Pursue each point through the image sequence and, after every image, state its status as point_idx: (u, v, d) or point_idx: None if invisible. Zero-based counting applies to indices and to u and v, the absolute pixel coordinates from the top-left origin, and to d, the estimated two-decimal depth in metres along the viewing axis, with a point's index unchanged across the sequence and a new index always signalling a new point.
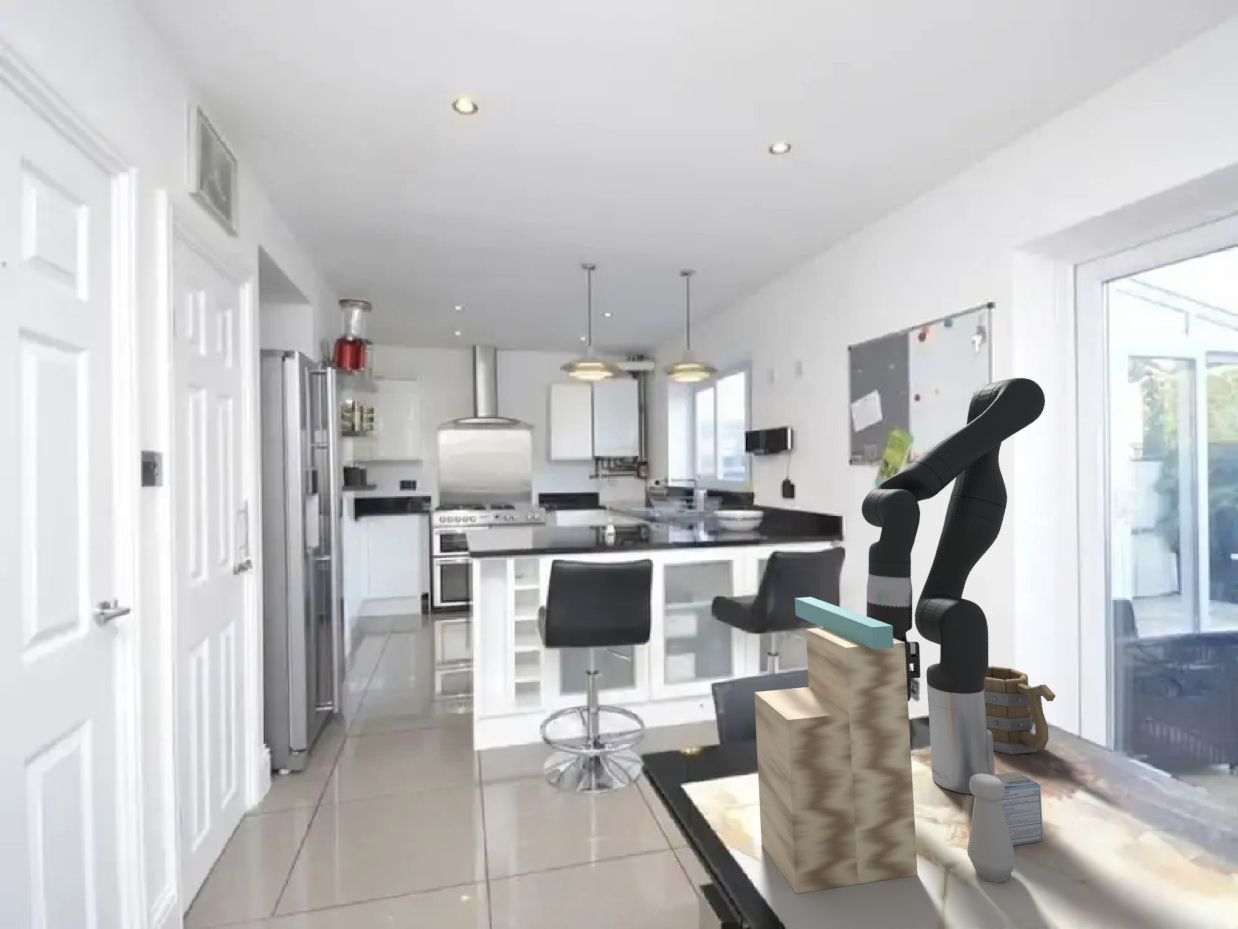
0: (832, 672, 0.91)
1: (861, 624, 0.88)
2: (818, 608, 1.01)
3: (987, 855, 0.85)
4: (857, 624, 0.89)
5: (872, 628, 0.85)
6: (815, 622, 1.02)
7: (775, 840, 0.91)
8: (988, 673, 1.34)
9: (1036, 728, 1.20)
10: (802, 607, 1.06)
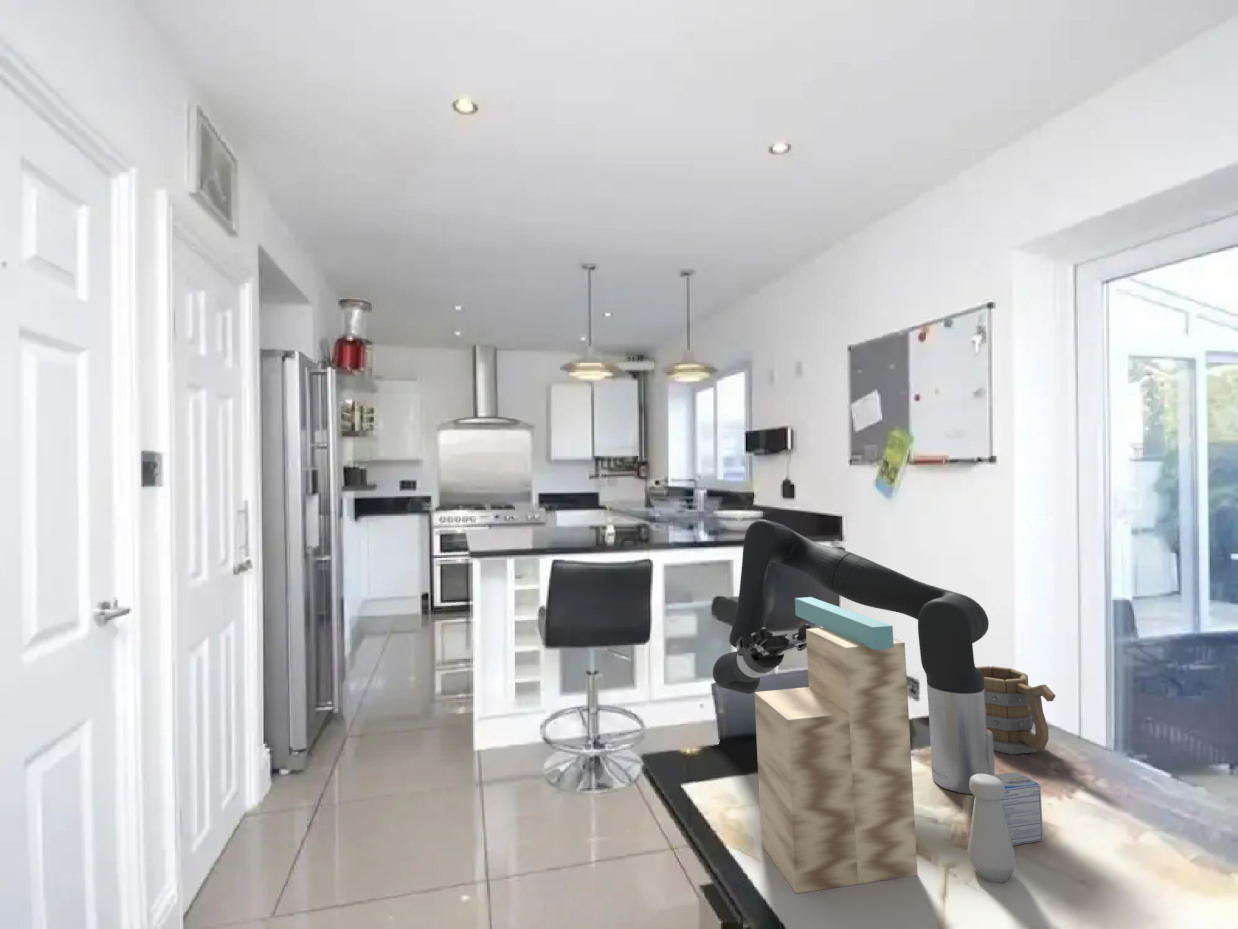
0: (832, 672, 0.91)
1: (861, 624, 0.88)
2: (818, 608, 1.01)
3: (987, 855, 0.85)
4: (857, 624, 0.89)
5: (872, 628, 0.85)
6: (815, 622, 1.02)
7: (775, 840, 0.91)
8: (988, 673, 1.34)
9: (1036, 728, 1.20)
10: (802, 607, 1.06)
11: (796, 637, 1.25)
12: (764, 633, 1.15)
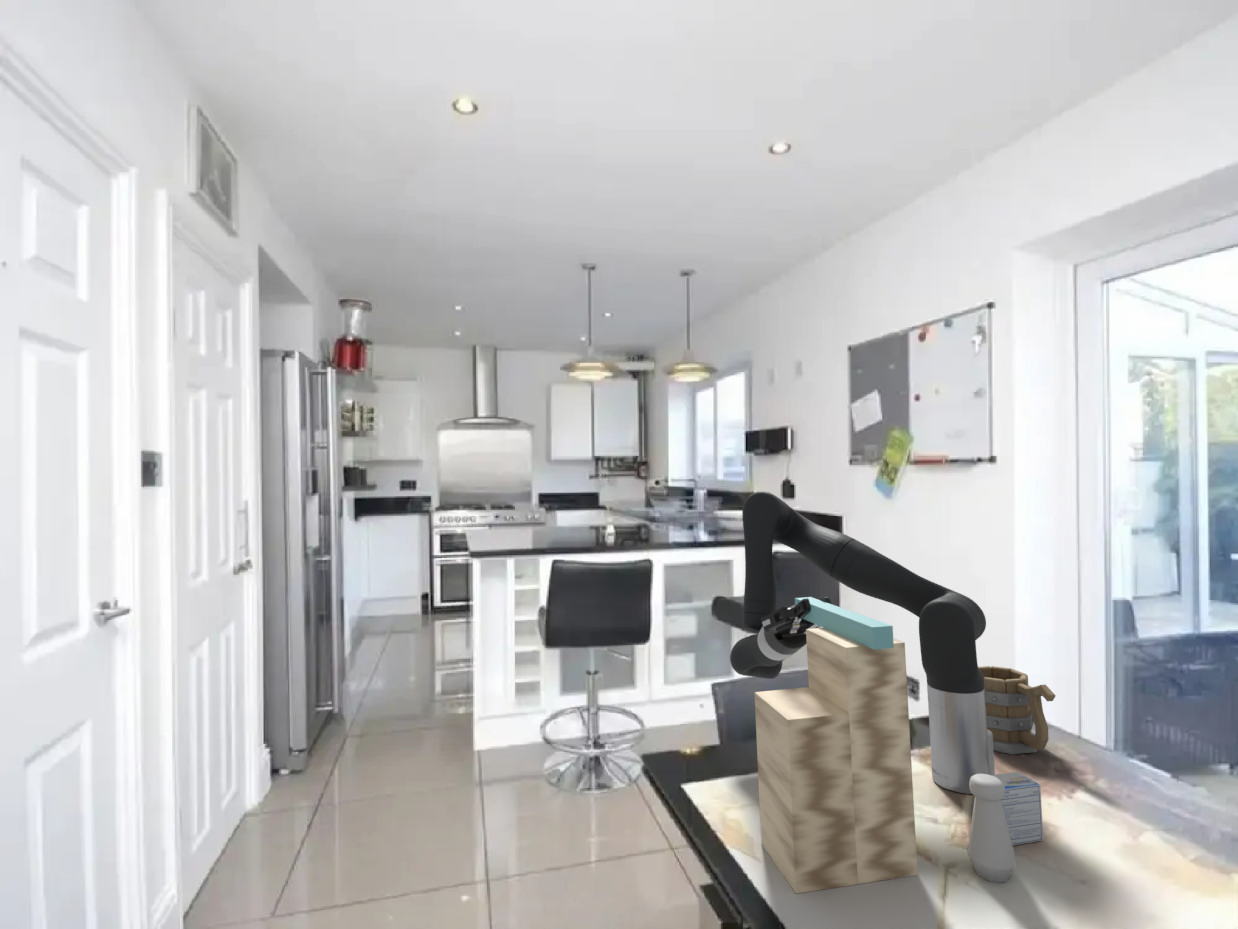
0: (832, 672, 0.91)
1: (861, 624, 0.88)
2: (818, 608, 1.01)
3: (987, 855, 0.85)
4: (857, 624, 0.89)
5: (872, 628, 0.85)
6: (815, 622, 1.02)
7: (775, 840, 0.91)
8: (988, 673, 1.34)
9: (1036, 728, 1.20)
10: None
11: None
12: (807, 604, 1.03)
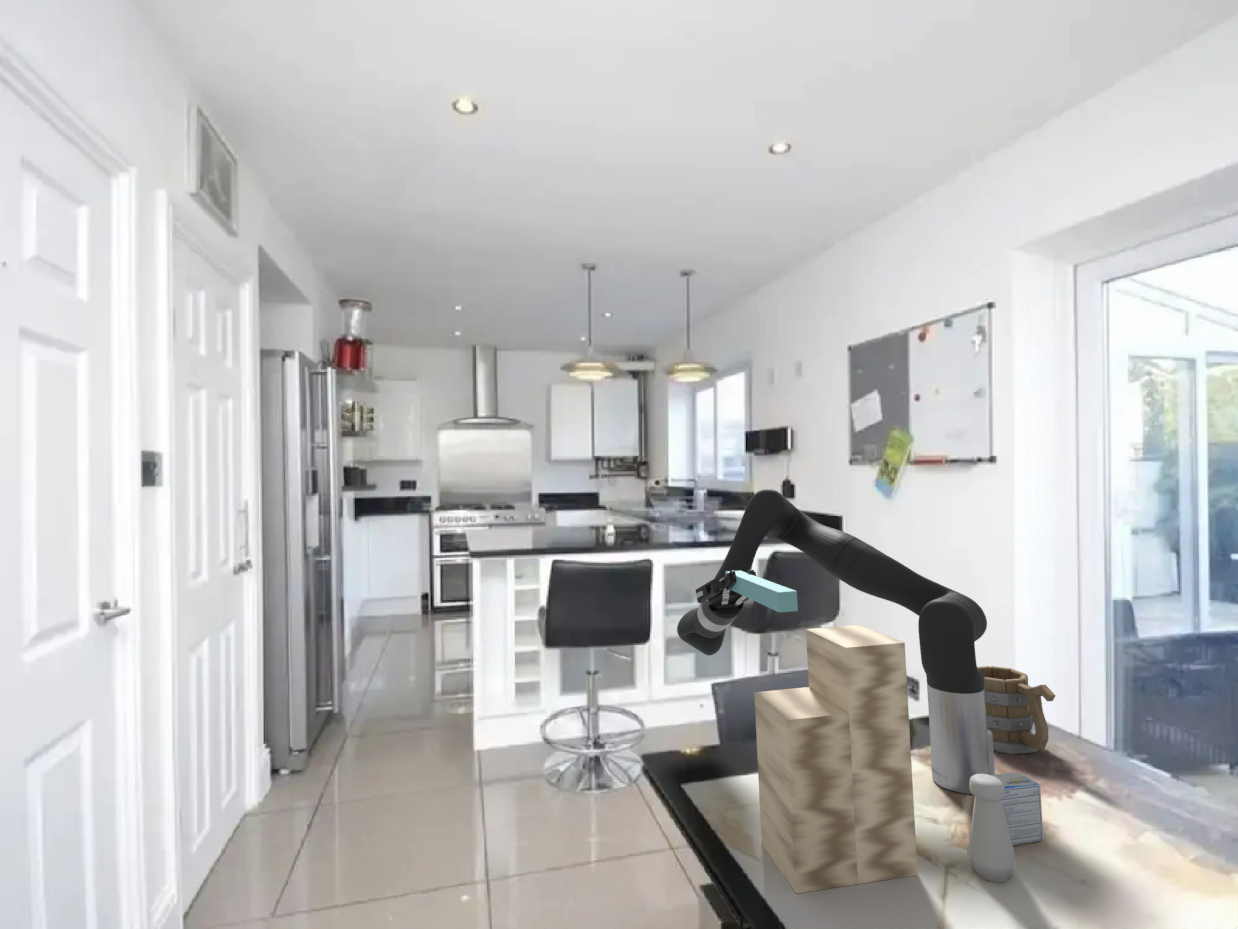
0: (832, 672, 0.91)
1: (770, 590, 0.97)
2: (741, 579, 1.09)
3: (987, 855, 0.85)
4: (767, 590, 0.98)
5: (778, 593, 0.94)
6: (739, 592, 1.10)
7: (775, 840, 0.91)
8: (988, 673, 1.34)
9: (1036, 728, 1.20)
10: None
11: None
12: (733, 576, 1.12)
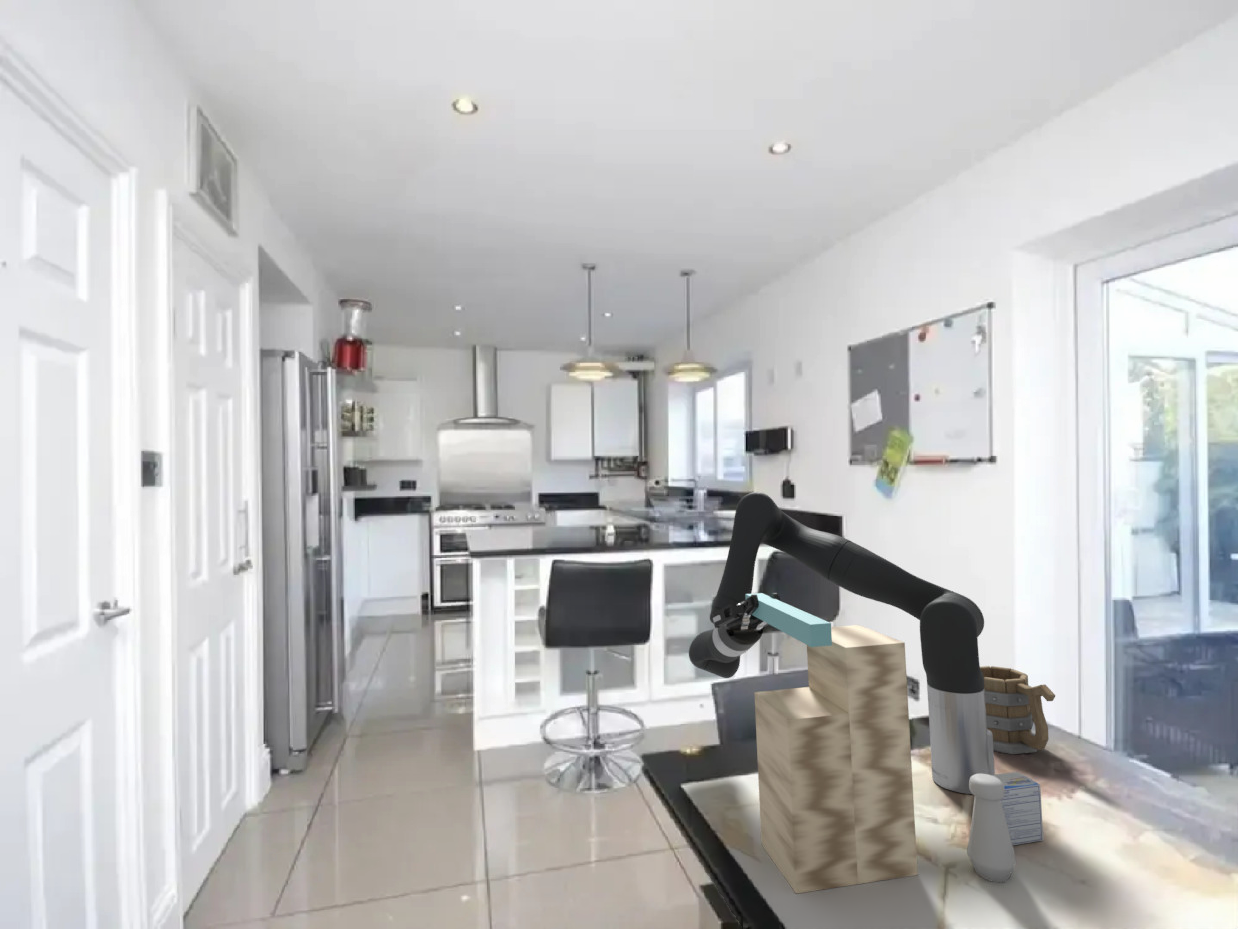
0: (832, 672, 0.91)
1: (800, 621, 0.87)
2: (765, 604, 0.99)
3: (987, 855, 0.85)
4: (797, 621, 0.88)
5: (810, 625, 0.84)
6: (762, 619, 1.00)
7: (775, 840, 0.91)
8: (988, 673, 1.34)
9: (1036, 728, 1.20)
10: None
11: None
12: (755, 600, 1.02)
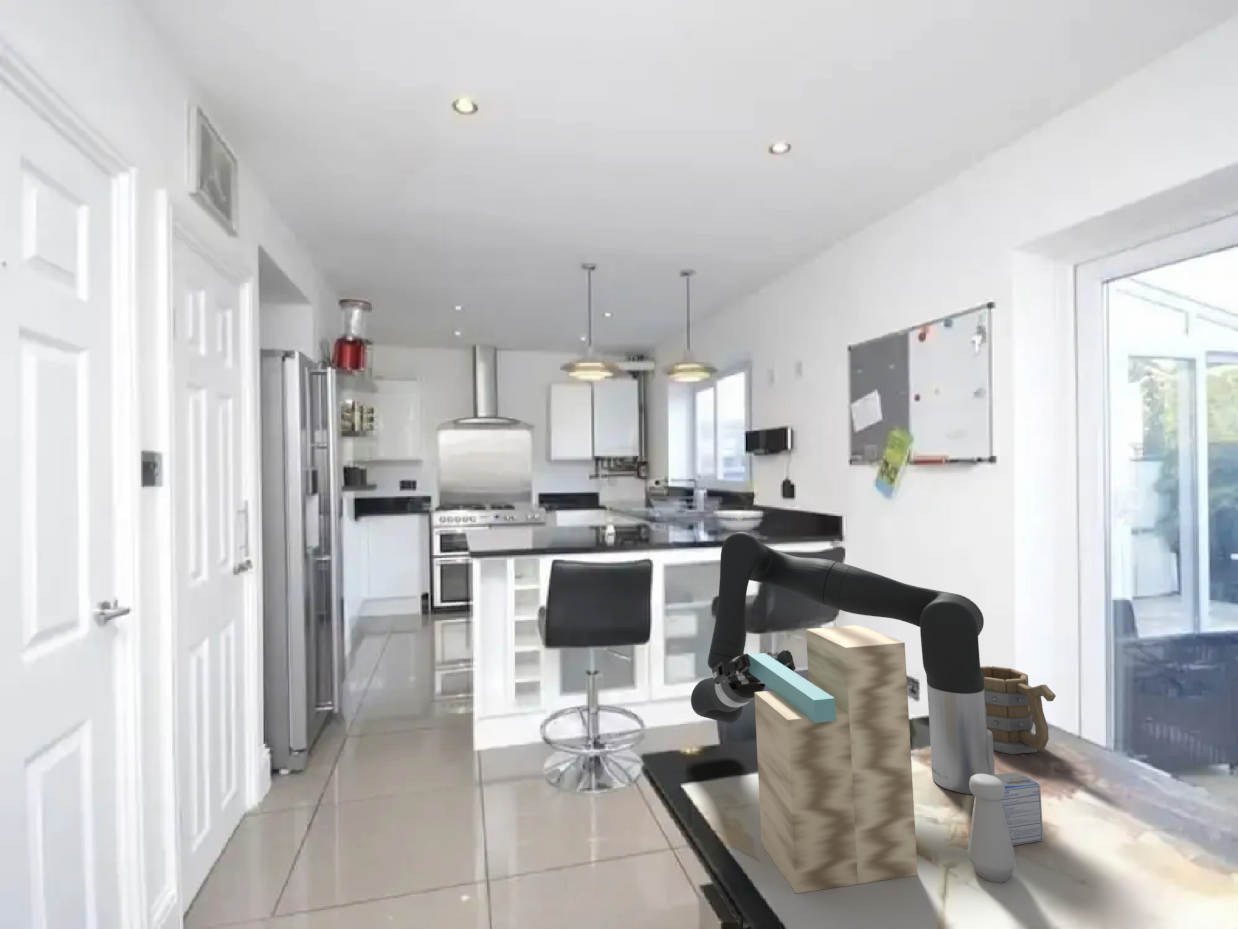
0: (832, 672, 0.91)
1: (804, 694, 0.86)
2: (768, 669, 0.99)
3: (987, 855, 0.85)
4: (800, 693, 0.87)
5: (814, 701, 0.84)
6: (765, 683, 1.00)
7: (775, 840, 0.91)
8: (988, 673, 1.34)
9: (1036, 728, 1.20)
10: (754, 665, 1.04)
11: None
12: (746, 659, 1.02)
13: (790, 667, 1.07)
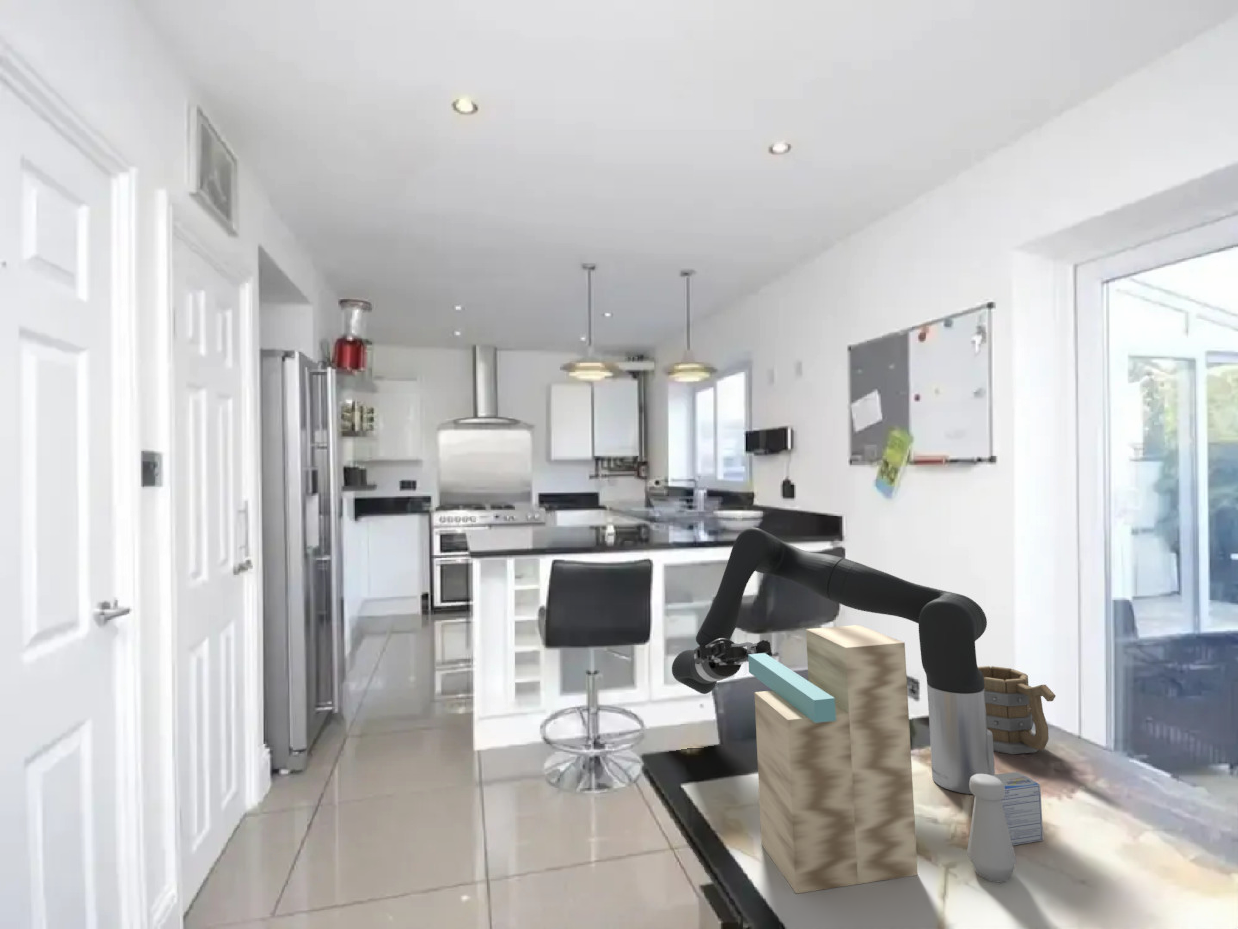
0: (832, 672, 0.91)
1: (804, 694, 0.86)
2: (768, 669, 0.99)
3: (987, 855, 0.85)
4: (800, 693, 0.87)
5: (814, 701, 0.84)
6: (765, 683, 1.00)
7: (775, 840, 0.91)
8: (988, 673, 1.34)
9: (1036, 728, 1.20)
10: (754, 665, 1.04)
11: (755, 648, 1.23)
12: (722, 647, 1.14)
13: (767, 654, 1.19)
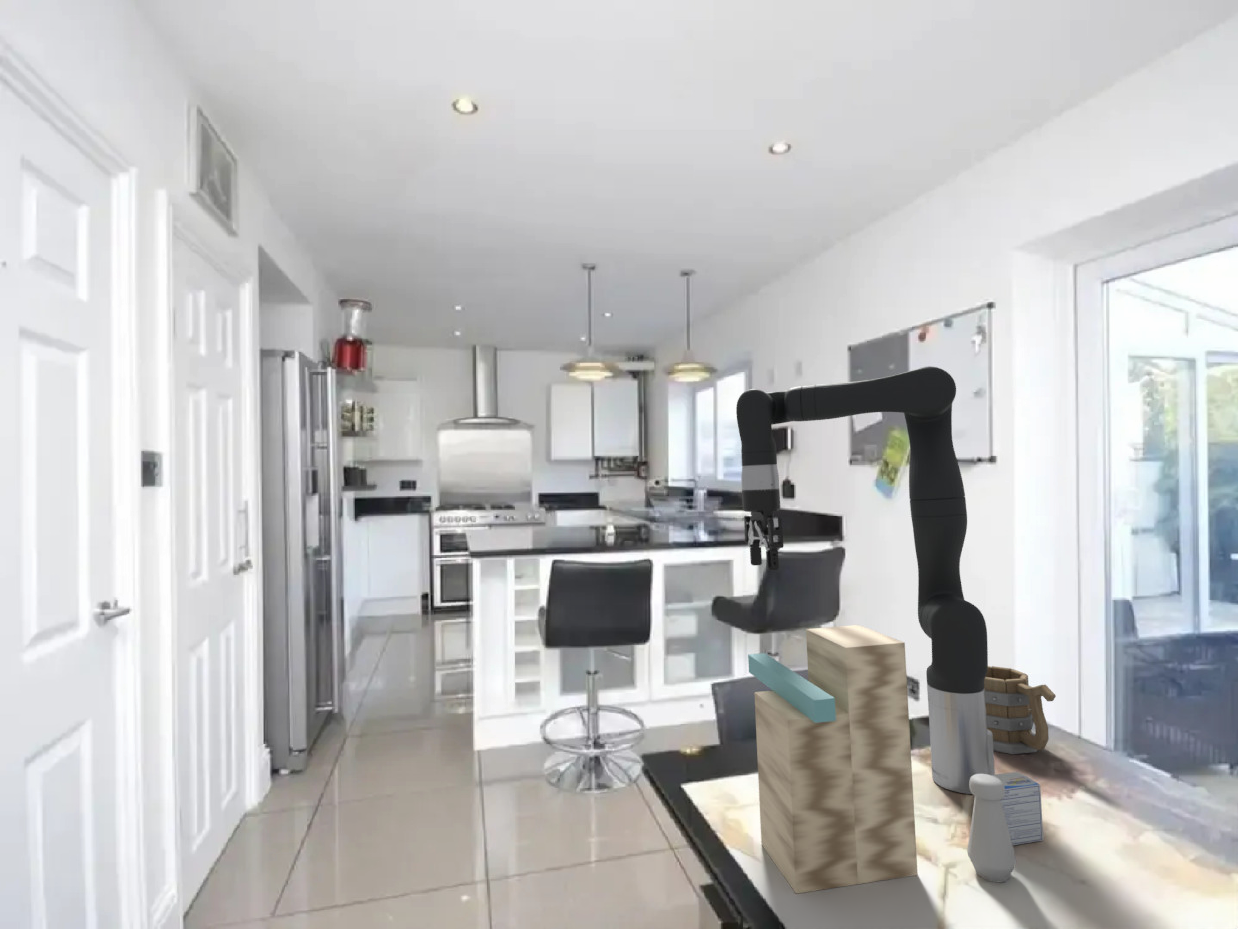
0: (832, 672, 0.91)
1: (804, 694, 0.86)
2: (768, 669, 0.99)
3: (987, 855, 0.85)
4: (800, 693, 0.87)
5: (814, 701, 0.84)
6: (765, 683, 1.00)
7: (775, 840, 0.91)
8: (988, 673, 1.34)
9: (1036, 728, 1.20)
10: (754, 665, 1.04)
11: None
12: (772, 569, 1.23)
13: (748, 542, 1.33)
